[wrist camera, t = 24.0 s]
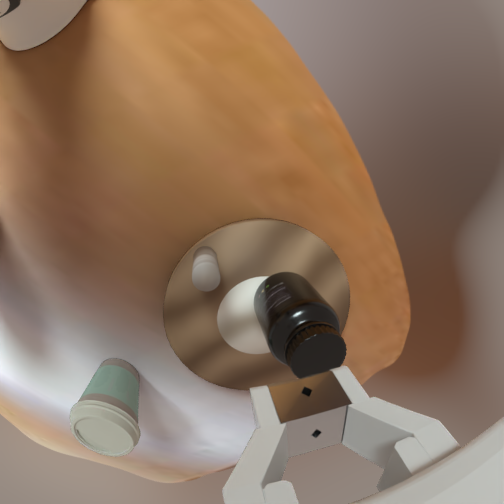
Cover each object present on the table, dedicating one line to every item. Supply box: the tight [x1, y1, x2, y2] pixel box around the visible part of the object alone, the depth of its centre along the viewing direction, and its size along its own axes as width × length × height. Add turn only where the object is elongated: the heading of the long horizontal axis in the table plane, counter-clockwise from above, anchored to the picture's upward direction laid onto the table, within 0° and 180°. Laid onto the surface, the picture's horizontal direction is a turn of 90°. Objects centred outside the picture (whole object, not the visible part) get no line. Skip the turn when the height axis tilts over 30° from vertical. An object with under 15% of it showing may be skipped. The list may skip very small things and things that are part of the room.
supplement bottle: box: [254, 272, 347, 378], centre depth 28 cm, size 7×7×12 cm
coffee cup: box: [70, 359, 140, 457], centre depth 31 cm, size 8×8×12 cm
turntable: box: [163, 218, 350, 390], centre depth 32 cm, size 22×22×8 cm
